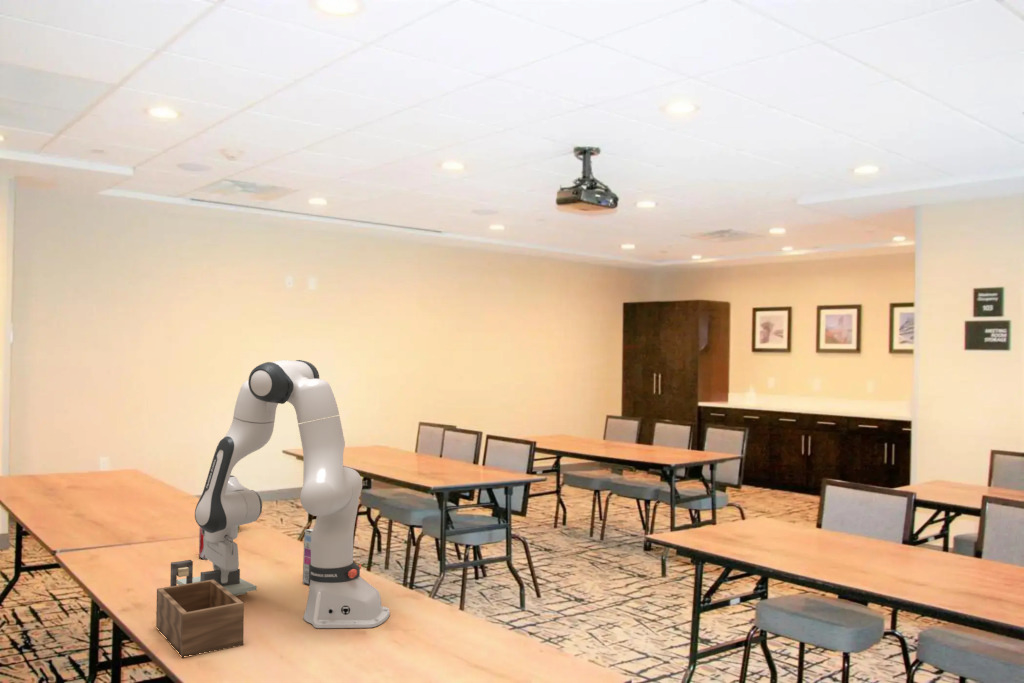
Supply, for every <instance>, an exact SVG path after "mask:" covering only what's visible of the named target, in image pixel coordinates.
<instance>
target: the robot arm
mask: <svg viewBox="0 0 1024 683" xmlns="http://www.w3.org/2000/svg"><path fill="white" fill-rule="evenodd" d="M334 394H335V393H333V390H332V387H331V385H330V383H329V382H328V381H327V380H325V379H322V378H321V379H320V374H319V371H318V369H317V367H316V366H315V365H314V364H313V363H311V362H308V361H305V360H303V359H301V360H300V359H296V360H287V359H282V360H274V361H267V362H263V363H261V364H259V365H257V366H255V367H254V368H253V369H252V370H251V372H250V374H249V376H248V379H247V380H246V381H244V382H243V383H242V384H241V387H240V389H239V391H238V395H237V398H236V402H235V406H234V410H233V415H232V416H233V417H232V422H231V424H230V427H229V428H228V431H227V433H226V434H225V435H224V437H223V438H221V439H220V441H219V442H218V443H217V446H216V448H215V451H214V454H213V458H212V460H211V463H210V467H209V471H208V474H207V478H206V481H205V484H204V487H203V490H202V493H201V495H200V498H199V499H198V502H197V504H196V506H195V510H194V520H195V522H196V524H197V525H198V527H199V528H200V527H201V528H202V535H204V537H203V542H204V554H205V558H207V559H206V560H208V561H209V562H211V564H212V568H213V571H214V570H221V576H220V582H221V583H227V582H228V574H229V572H231V571H236V570H238V569H239V566H240V565H239V564H240V563H239V561H240V560H239V558H240V557H239V548H238V544H237V543H236V542H235V541H234V540H236V539H237V538H238V535H239V534H238V533H239V531H238V526H239V527H240V526H243V525H248V524H251V523H254V522H256V521H257V520H258V519H259V517H260V516H261V515H262V510H263V502H262V498H261V496H260V494H259V493H258V492H257V491H255V490H254V489H249V488H247V487H245V486H244V485H242V484H241V483H240V481H239V479H238V477H237V476H234V475H232V471H233V470H234V468H235V466H236V464H238V463H239V462H240V461H241V460H242V459H244V458H246V457H247V456H249V455H251V454H253V453H254V452H256V451H258V450H261V449H262V448H264V447H265V446H266V445H267V443H269V441H270V440H271V439H272V436H273V432H274V427H275V423H276V422H275V420H276V414H277V408H278V405H279V404H281V405H283V404H285V403H287V402H288V403H289V404H290V405H292V406H293V409H294V410H295V413H296V420H297V425H298V432H299V435H300V436H299V437H300V441H301V447H302V454H303V455H302V456H303V471H302V472H303V475H302V476H303V479H302V480H303V481H302V482H303V484H302V489H301V490H300V497H299V498H300V500H299V501H300V504H301V506H302V508H303V509H304V511H305V512H306V513H308V514H309V515H311V516H315V517H316V519H315V523H314V524H313V525H314V526H313V531H312V534H311V563H310V564H309V571H308V579H309V585H310V586H309V585H308V586H309V587H308V589H309V590H308V596H307V602H306V607H305V610H304V613H303V620H304V621H305V622H307V623H308V624H312V626H313V627H314V628H315V629H348V628H349V629H350V628H351V629H353V628H354V629H355V628H359V629H363V628H365V629H366V628H367V629H368V628H369V629H370V628H375V627H377V626H380V625H382V624H383V623H385V622H386V621H387V620H388V618H390V616H391V614H390V608H389V607H387V606H382V599H381V594H380V591H379V590H378V589H377V588H376V587H374V586H373V585H372V584H370V583H369V582H368V581H367V580H365V579H364V578H363V577H361V575H360V574H361V569H362V564H361V563H360V564H359V565H358V564H357V563H356V562H355V561H354V535H355V534H354V533H355V532H354V531H355V524H356V519H357V514H358V508H359V502H360V496H361V494H362V489H363V480H362V476H361V475H360V473H359V472H358V471H357V470H355V469H353V468H351V467H347V466H344V452H345V450H344V449H345V447H346V446H345V445H346V441H345V437H344V431H343V426H342V421H341V416H340V411H339V407H338V404H337V401H336V396H335V395H334Z"/></svg>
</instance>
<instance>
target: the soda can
mask: <svg viewBox="0 0 1024 683" xmlns="http://www.w3.org/2000/svg"><path fill="white" fill-rule="evenodd" d="M198 531H199V534H198V535H199V537H198V538H199V540H198V542H199V543H198V548H199V549H198V557H199V558H202V560H208V559H207V558H205V554H204V542H203V537H204V535H202V528H201V527H200V526H199V530H198Z"/></svg>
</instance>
